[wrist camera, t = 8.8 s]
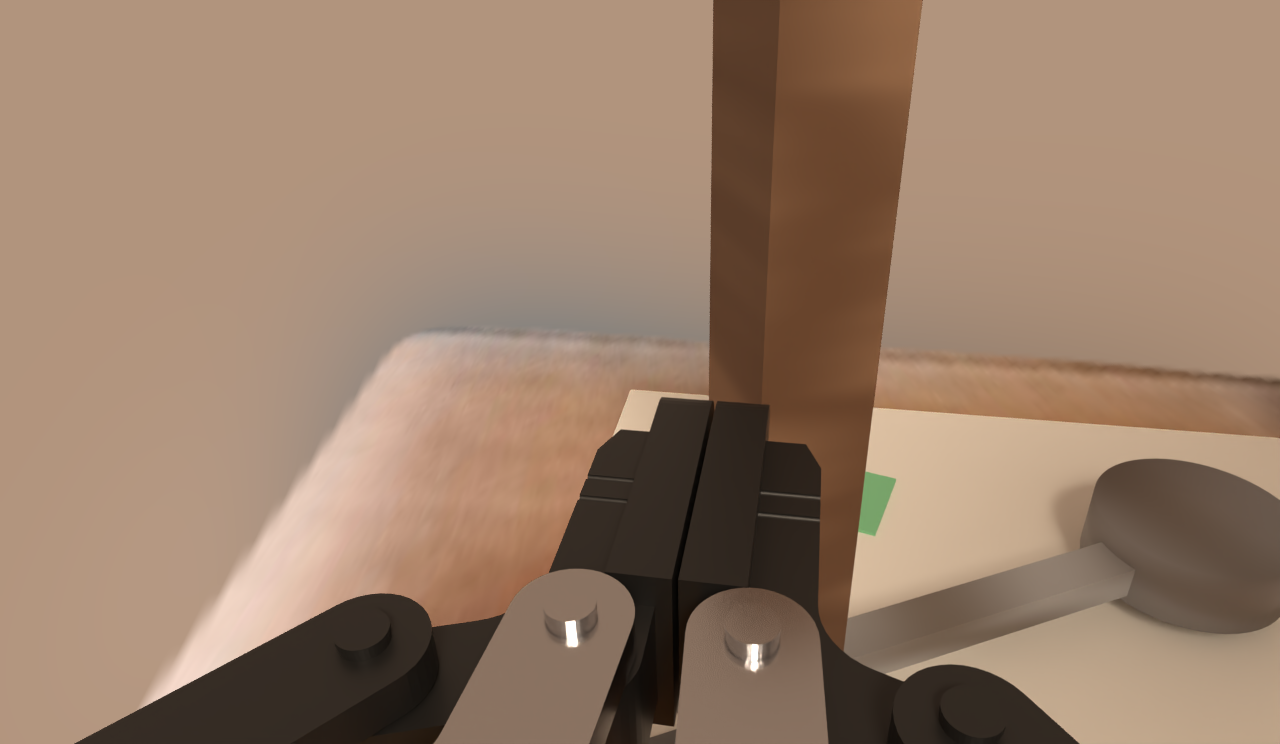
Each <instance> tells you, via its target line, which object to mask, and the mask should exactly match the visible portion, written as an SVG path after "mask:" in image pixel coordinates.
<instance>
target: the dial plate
mask: <svg viewBox="0 0 1280 744" xmlns="http://www.w3.org/2000/svg"><path fill="white" fill-rule="evenodd" d="M661 397H669V398H683V399H696V400H709V395H697V394H684V393H670V392H657V391H644V390H630V393H629V395H628V398H627V400H626V403H625V406H624V408H623V411H622V413H621V416H620V419H619V421H618V424H617V426H616V429H615V432H614V434H613V436H614V435H615V434H616V433H617V432H618V431H620V430H621V429H624V430H636V431H648V432H649V431H650V428H651V425H652V422H653V419H654V416H655V413H656V410H657V406H658V403H659V401H660V399H661ZM1154 458H1158V459H1173V460H1181V461H1187V462H1193V463H1197V464H1201V465H1206V466H1209V467H1212V468H1216V469H1219V470H1222V471H1225V472H1228V473H1230V474H1233V475H1235V476H1238V477H1240V478H1242V479H1245V480H1247V481H1249V482H1251V483H1253V484H1255V485H1257V486H1259V487H1260V488H1262V489H1264V490H1265V491H1267V492H1269V493H1270V494H1272V495H1273V496H1275V497H1276V498H1278V499H1279V500H1280V439H1279V438H1275V437H1262V436H1248V435H1235V434H1221V433H1208V432H1194V431H1181V430H1168V429H1154V428H1141V427H1127V426H1114V425H1100V424H1087V423H1074V422H1060V421H1047V420H1033V419H1020V418H1006V417H993V416H979V415H966V414H953V413H939V412H926V411H912V410H899V409H885V408H873V413H872V421H871V430H870V438H869V446H868V454H867V462H866V471H865V479H864V487H863V495H862V504H861V512H860V520H859V528H858V537H857V545H856V553H855V561H854V570H853V578H852V586H851V594H850V602H849V611H848V618H850V617H854V616H857V615H860V614H864V613H867V612H870V611H874V610H877V609H880V608H884V607H887V606H890V605H894V604H897V603H900V602H904V601H907V600H910V599H914V598H917V597H920V596H924V595H927V594H930V593H934V592H937V591H940V590H944V589H947V588H950V587H954V586H957V585H961V584H964V583H967V582H971V581H974V580H977V579H981V578H984V577H987V576H991V575H994V574H997V573H1001V572H1004V571H1007V570H1011V569H1014V568H1017V567H1021V566H1024V565H1027V564H1031V563H1034V562H1037V561H1041V560H1044V559H1047V558H1051V557H1054V556H1057V555H1061V554H1064V553H1067V552H1071V551H1074V550H1077V549H1080V538H1081V533H1082V530H1083V526H1084V523H1085V519H1086V516H1087V512H1088V509H1089V505H1090V502H1091V498H1092V495H1093V491H1094V488H1095V484H1096V482H1097V480H1098V478H1099V477H1100V476H1101V475H1102V474H1103V473H1104V472H1105V471H1106V470H1108V469H1109V468H1111V467H1113V466H1115V465H1117V464H1120V463H1123V462H1127V461H1132V460H1138V459H1154ZM947 664H954V665H965V666H970V667H974V668H978V669H981V670H984V671H987V672H990V673H992V674H994V675H996V676H999V677H1001V678H1003V679H1004V680H1006V681H1008V682H1009V683H1011V684H1012V685H1014V686H1015V687H1016V688H1018V689H1019V690H1020V691H1021V692H1023V693H1024V694H1025V695H1026V696H1027V697H1029V698H1030V699H1031V700H1032V701H1033V702H1034V703H1035V704H1036V705H1037V706H1038V707H1040V708H1041V709H1042V710H1043V711H1044V712H1045V713H1046V714H1047V715H1048V716H1050V717H1051V718H1052V719H1053V720H1054V721H1055V722H1056V723H1057V724H1058V725H1060V726H1061V727H1062V728H1063V729H1064V730H1065V731H1066V732H1067V733H1068V734H1069V735H1071V736H1072V737H1073V738H1074V739H1075V740H1076V741H1077V742H1078V743H1079V744H1280V617H1279V619H1278V620H1277V621H1275V622H1274V623H1272V624H1271V625H1269V626H1267V627H1265V628H1263V629H1260V630H1257V631H1253V632H1248V633H1240V634H1216V633H1207V632H1200V631H1195V630H1191V629H1186V628H1182V627H1179V626H1176V625H1172V624H1169V623H1166V622H1164V621H1161V620H1159V619H1156V618H1154V617H1151V616H1149V615H1147V614H1145V613H1143V612H1141V611H1139V610H1137V609H1135V608H1134V607H1132V606H1130V605H1128V604H1127V603H1125V602H1124V601H1122V600H1121V599H1116V600H1113V601H1109V602H1106V603H1103V604H1100V605H1097V606H1094V607H1091V608H1088V609H1085V610H1082V611H1078V612H1075V613H1072V614H1069V615H1066V616H1063V617H1060V618H1057V619H1054V620H1051V621H1047V622H1044V623H1041V624H1038V625H1035V626H1032V627H1029V628H1026V629H1023V630H1020V631H1017V632H1013V633H1010V634H1007V635H1004V636H1001V637H998V638H995V639H992V640H989V641H986V642H982V643H979V644H976V645H973V646H970V647H967V648H964V649H961V650H958V651H955V652H951V653H948V654H945V655H942V656H939V657H936V658H933V659H930V660H927V661H924V662H920V663H917V664H914V665H911V666H908V667H905V668H902V669H899V670H896V671H893V672H889V673H886V675H889V676H891V677H894V678H896V679H899V680H901V681H905V680H906V679H907V678H908V677H909V676H911V675H912V674H914V673H916V672H917V671H919V670H922V669H925V668H927V667H931V666H936V665H947ZM677 718H678V713H677V715H676V720H675V725H674V727H672V726H665V725H658V724H652V729H651V734H650V739H649V743H648V744H675V740H676V729H677Z"/></svg>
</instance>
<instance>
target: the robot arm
mask: <svg viewBox="0 0 1280 744" xmlns="http://www.w3.org/2000/svg"><path fill="white" fill-rule="evenodd" d="M769 419H770V405H766V404H753V403H739V402H726V401H717V403H716V407H715V408H714V401H709V400H696V399H683V398H669V397H661V399H660V401H659V403H658V406H657V410H656V413H655V416H654V419H653V422H652V425H651V428H650V431H649V432H648V431H636V430H624V429H621V430H620V431H618V432H617V433H616V434H615V435H614V436H613V437H612V438H610V439H609V440H608V441H607V442H606V443H605V444H604V445H602V446H601V447H600V448H599V449H598V450H597V453H596V455H595V458H594V460H593V463H592V465H591V468H590V470H589V473H588V479H586V481H585V483H584V486H583V488H582V491H581V493H580V499H579V500H578V501H577V503H576V506H575V508H574V511H573V513H572V516H571V518H570V521H569V523H568V526H567V528H566V531H565V533H564V536H563V539H562V541H561V544H560V546H559V549H558V551H557V554H556V556H555V559H554V561H553V564H552V566H551V569H550V571H549V573H548V574H546V575H543V576H541V577H539V578H537V579H535V580H533V581H531V582H530V583H529V584H527V585H526V586H525V587H523V588H522V589H521V590H520V591H519V592H518V593H517V594H516V596H515V597H514V599H513V600H512V602H511V603H510V605H509V607H508V609H507V611H506V613H504V614H502V615H499V616H496V617H493V618H489V619H484V620H479V621H473V622H466V623H459V624H452V625H445V626H437V627H432V625H431V621H430V618H429V616H428V614H427V612H426V611H425V610H424V608H423V607H422V606H420V605H419V604H418V603H417V602H415V601H413V600H411V599H410V598H407V597H404V596H401V595H395V594H370V595H365V596H360V597H356V598H353V599H350V600H347V601H345V602H343V603H341V604H338V605H336V606H334V607H332V608H331V609H329V610H327V611H325V612H323V613H321V614H319V615H317V616H315V617H314V618H312V619H310V620H308V621H306V622H304V623H302V624H300V625H298V626H296V627H295V628H293V629H291V630H289V631H287V632H285V633H283V634H281V635H279V636H278V637H276V638H274V639H272V640H270V641H268V642H266V643H264V644H262V645H260V646H259V647H257V648H255V649H253V650H251V651H249V652H247V653H245V654H243V655H242V656H240V657H238V658H236V659H234V660H232V661H230V662H228V663H226V664H225V665H223V666H221V667H219V668H217V669H215V670H213V671H211V672H209V673H207V674H206V675H204V676H202V677H200V678H198V679H196V680H194V681H192V682H190V683H189V684H187V685H185V686H183V687H181V688H179V689H177V690H175V691H173V692H171V693H170V694H168V695H166V696H164V697H162V698H160V699H158V700H156V701H154V702H153V703H151V704H149V705H147V706H145V707H143V708H141V709H139V710H137V711H136V712H134V713H132V714H130V715H128V716H126V717H124V718H122V719H120V720H118V721H117V722H115V723H113V724H111V725H109V726H107V727H105V728H103V729H101V730H100V731H98V732H96V733H94V734H92V735H90V736H88V737H86V738H84V739H82V740H81V741H79V742H77V743H75V744H648V743H649V739H650V734H651V729H652V724H658V725H665V726H672V727H674V725H675V720H676V715H677V709H678V718H677V729H676V740H675V744H1079V743H1078V742H1077V741H1076V740H1075V739H1074V738H1073V737H1072V736H1071V735H1069V734H1068V733H1067V732H1066V731H1065V730H1064V729H1063V728H1062V727H1061V726H1060V725H1058V724H1057V723H1056V722H1055V721H1054V720H1053V719H1052V718H1051V717H1050V716H1048V715H1047V714H1046V713H1045V712H1044V711H1043V710H1042V709H1041V708H1040V707H1038V706H1037V705H1036V704H1035V703H1034V702H1033V701H1032V700H1031V699H1030V698H1029V697H1027V696H1026V695H1025V694H1024V693H1023V692H1021V691H1020V690H1019V689H1018V688H1016V687H1015V686H1014V685H1012V684H1011V683H1009V682H1008V681H1006V680H1004V679H1003V678H1001V677H999V676H996V675H994V674H992V673H990V672H987V671H984V670H981V669H978V668H974V667H970V666H965V665H954V664H947V665H936V666H931V667H927V668H925V669H922V670H919V671H917V672H916V673H914V674H912V675H911V676H909V677H908V678H907V679H906V680H905V681H901V680H899V679H896V678H894V677H891V676H889V675H886V674H884V673H881V672H878V671H876V670H874V669H871V668H869V667H867V666H865V665H863V664H861V663H859V662H858V661H856V660H854V659H853V658H851V657H850V656H849V655H847V654H846V653H845V652H843V651H842V650H841V649H840V648H839V647H838V646H837V645H836V644H835V643H834V642H833V641H832V639H831V638H830V637H829V635H828V634H827V633H826V631H825V629H824V627H823V625H822V623H821V619H820V616H819V609H818V590H819V548H820V506H821V501H820V499H821V467H820V466H819V464H818V462H817V461H816V459H815V458H814V456H813V454H812V453H811V451H810V450H809V448H808V446H807V445H806V444H798V443H786V442H773V441H768V439H769ZM678 704H679V707H678Z"/></svg>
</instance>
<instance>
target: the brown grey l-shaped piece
mask: <svg viewBox="0 0 1280 744" xmlns="http://www.w3.org/2000/svg"><path fill="white" fill-rule="evenodd" d="M922 1H923V0H714V1H713V2H714V3H713V91H712V175H711V176H712V177H711V263H710V265H711V266H710V267H711V268H710V351H709V401H714V408H715V407H716V403H717V401H726V402H739V403H753V404H766V405H770V419H769V439H768V441H773V442H786V443H798V444H806V445H807V446H808V448H809V450H810V451H811V453H812V454H813V456H814V458H815V459H816V461H817V462H818V464H819V466H820V467H821V499H820V501H821V506H820V548H819V590H818V609H819V616H820V619H821V623H822V625H823V627H824V629H825V631H826V633H827V634H828V635H829V637H830V638H831V639H832V641H833V642H834V643H835V644H836V645H837V646H838V647H839V648H840V649H841V650H842V651H843V652H845V653H846V654H847V655H849V656H850V657H851V658H853V659H854V660H856V661H858V662H859V663H861V664H863V665H865V666H867V667H869V668H871V669H874V670H876V671H878V672H881V673H884V674H886V673H889V672H893V671H896V670H899V669H902V668H905V667H908V666H911V665H914V664H917V663H920V662H924V661H927V660H930V659H933V658H936V657H939V656H942V655H945V654H948V653H951V652H955V651H958V650H961V649H964V648H967V647H970V646H973V645H976V644H979V643H982V642H986V641H989V640H992V639H995V638H998V637H1001V636H1004V635H1007V634H1010V633H1013V632H1017V631H1020V630H1023V629H1026V628H1029V627H1032V626H1035V625H1038V624H1041V623H1044V622H1047V621H1051V620H1054V619H1057V618H1060V617H1063V616H1066V615H1069V614H1072V613H1075V612H1078V611H1082V610H1085V609H1088V608H1091V607H1094V606H1097V605H1100V604H1103V603H1106V602H1109V601H1113V600H1116V599H1121V600H1122V601H1124V602H1125V603H1127V604H1128V605H1130V606H1132V607H1134V608H1135V609H1137V610H1139V611H1141V612H1143V613H1145V614H1147V615H1149V616H1151V617H1154V618H1156V619H1159V620H1161V621H1164V622H1166V623H1169V624H1172V625H1176V626H1179V627H1182V628H1186V629H1191V630H1195V631H1200V632H1207V633H1216V634H1240V633H1248V632H1253V631H1257V630H1260V629H1263V628H1265V627H1267V626H1269V625H1271V624H1272V623H1274V622H1275V621H1277V620H1278V619H1279V617H1280V500H1279V499H1278V498H1276V497H1275V496H1273V495H1272V494H1270V493H1269V492H1267V491H1265V490H1264V489H1262V488H1260V487H1259V486H1257V485H1255V484H1253V483H1251V482H1249V481H1247V480H1245V479H1242V478H1240V477H1238V476H1235V475H1233V474H1230V473H1228V472H1225V471H1222V470H1219V469H1216V468H1212V467H1209V466H1206V465H1201V464H1197V463H1193V462H1187V461H1181V460H1173V459H1158V458H1154V459H1138V460H1132V461H1127V462H1123V463H1120V464H1117V465H1115V466H1113V467H1111V468H1109V469H1108V470H1106V471H1105V472H1104V473H1103V474H1102V475H1101V476H1100V477H1099V478H1098V480H1097V482H1096V484H1095V488H1094V491H1093V495H1092V498H1091V502H1090V505H1089V509H1088V512H1087V516H1086V519H1085V523H1084V526H1083V530H1082V533H1081V538H1080V549H1077V550H1074V551H1071V552H1067V553H1064V554H1061V555H1057V556H1054V557H1051V558H1047V559H1044V560H1041V561H1037V562H1034V563H1031V564H1027V565H1024V566H1021V567H1017V568H1014V569H1011V570H1007V571H1004V572H1001V573H997V574H994V575H991V576H987V577H984V578H981V579H977V580H974V581H971V582H967V583H964V584H961V585H957V586H954V587H950V588H947V589H944V590H940V591H937V592H934V593H930V594H927V595H924V596H920V597H917V598H914V599H910V600H907V601H904V602H900V603H897V604H894V605H890V606H887V607H884V608H880V609H877V610H874V611H870V612H867V613H864V614H860V615H857V616H854V617H850V618H848V611H849V602H850V594H851V586H852V578H853V570H854V561H855V553H856V545H857V537H858V528H859V520H860V512H861V504H862V495H863V487H864V479H865V471H866V462H867V454H868V446H869V438H870V430H871V421H872V413H873V405H874V397H875V388H876V380H877V372H878V364H879V355H880V347H881V339H882V330H883V322H884V314H885V305H886V297H887V289H888V281H889V273H890V265H891V257H892V248H893V240H894V232H895V224H896V215H897V207H898V199H899V191H900V190H899V189H900V182H901V174H902V165H903V158H904V149H905V141H906V133H907V125H908V116H909V108H910V100H911V92H912V84H913V75H914V66H915V59H916V50H917V42H918V34H919V25H920V18H921V9H922ZM678 707H679V704H678ZM677 713H678V709H677Z"/></svg>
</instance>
